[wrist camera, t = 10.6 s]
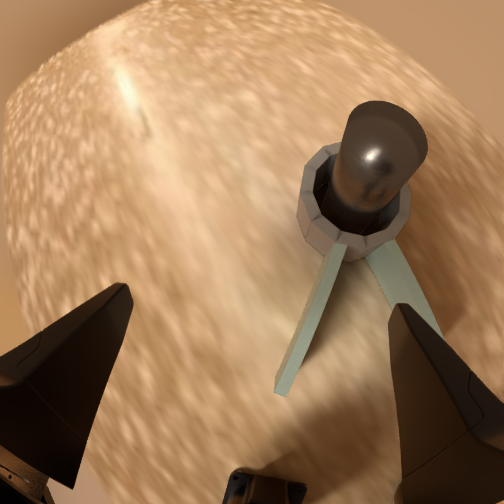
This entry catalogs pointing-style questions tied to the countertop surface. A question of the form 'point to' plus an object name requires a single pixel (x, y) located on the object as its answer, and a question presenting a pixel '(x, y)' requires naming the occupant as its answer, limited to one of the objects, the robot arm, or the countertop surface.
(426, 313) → the grey forked piece
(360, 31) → the countertop surface
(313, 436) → the countertop surface
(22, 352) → the robot arm
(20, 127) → the countertop surface
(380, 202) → the hinge pin
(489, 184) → the countertop surface
